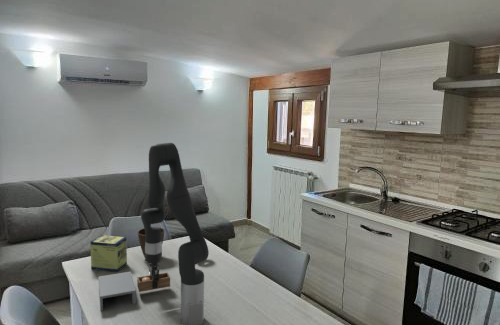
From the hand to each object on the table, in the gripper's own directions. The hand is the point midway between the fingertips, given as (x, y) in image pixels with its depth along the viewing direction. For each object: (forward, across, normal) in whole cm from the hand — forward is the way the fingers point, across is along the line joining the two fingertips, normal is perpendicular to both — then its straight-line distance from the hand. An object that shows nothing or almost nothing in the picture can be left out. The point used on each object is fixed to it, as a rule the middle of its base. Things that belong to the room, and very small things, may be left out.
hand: (153, 285), depth 164 cm
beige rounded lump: (0, 0, -4) cm, 4 cm away
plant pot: (+4, -42, +6) cm, 43 cm away
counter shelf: (+4, -3, -16) cm, 17 cm away
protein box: (+4, -38, -17) cm, 42 cm away
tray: (+1, 0, 0) cm, 1 cm away
